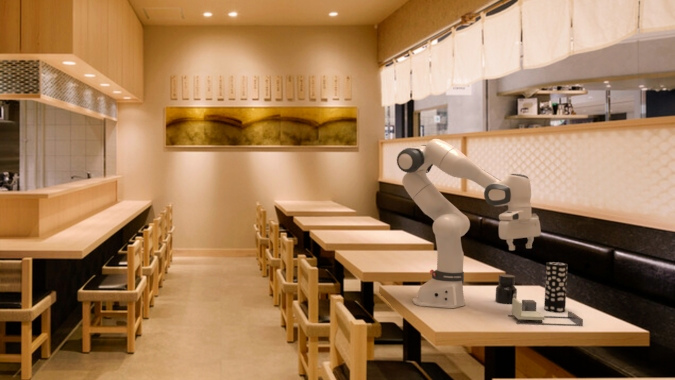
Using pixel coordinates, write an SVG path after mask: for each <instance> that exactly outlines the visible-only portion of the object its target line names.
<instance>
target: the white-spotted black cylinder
mask: <svg viewBox="0 0 675 380" xmlns="http://www.w3.org/2000/svg"><path fill="white" fill-rule="evenodd" d="M545 267H546V269H545V285H544V287H545V289H544V304H543V305H544V306H543V307H544V311H546V312H549V313H556V314H557V313H558V314H560V313H561V314H563V313H566V303H567V301H566V300H567V283H568V267H569V266H568V264H567V263H564V262H559V261H558V262H555V261H548V262H546V266H545Z"/></svg>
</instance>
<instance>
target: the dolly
mask: <svg viewBox="0 0 675 380" xmlns="http://www.w3.org/2000/svg"><path fill="white" fill-rule="evenodd" d="M511 315H514V317H513V319H517V320H518V322H519V323H525V321H526V320H527V321H528V320H530V321H536V323H543V321H545V319H546V318H545V317H544V316H545V315H543V314H541V313H540V312H539V311H538V310H536V311H522V301H519V300H518V299H517V298H513V300H512V304H511Z"/></svg>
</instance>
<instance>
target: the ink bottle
mask: <svg viewBox="0 0 675 380" xmlns="http://www.w3.org/2000/svg"><path fill="white" fill-rule="evenodd" d="M515 283H516V276H515V275H514V274H513V275H512V274H498V285H497V286H496V287H495V299H494V300H495V302H496V303H497V304H501V305H502V304H503V305H512V300H513V298H516V299H517V297H518V296H517V293H518V291H517V290H518V288H517V287H516V286H515Z"/></svg>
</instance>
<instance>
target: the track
mask: <svg viewBox="0 0 675 380" xmlns="http://www.w3.org/2000/svg"><path fill="white" fill-rule="evenodd" d="M507 316H508V317H510V318H514V315H513V314H508V315H507ZM543 316H544V317H545V319H568V320H570V321H571V322H573V323H574V324H573V323H551V322H549V323H545V322H542V323H538V322H524V323H520V322H519V321H518V322H515V323H516V325H534V326H562V327H563V326H566V327H569V326H570V327H583V325H584V318H582V317H580V316H578V315H577V314H575V313H574V312H572V311H567V316H556V315H555V316H551V315H543Z"/></svg>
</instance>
